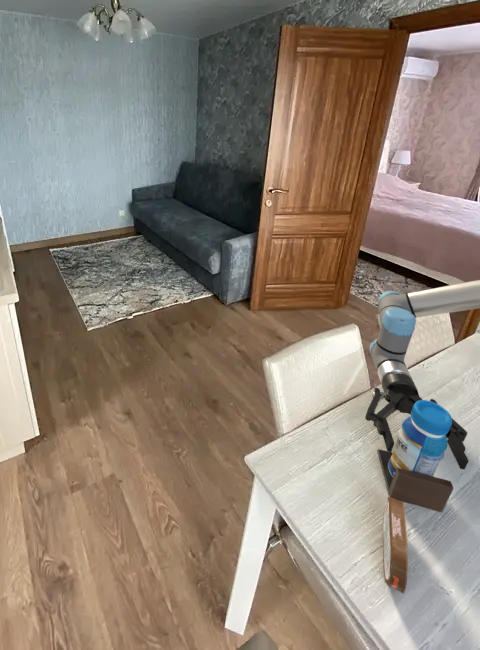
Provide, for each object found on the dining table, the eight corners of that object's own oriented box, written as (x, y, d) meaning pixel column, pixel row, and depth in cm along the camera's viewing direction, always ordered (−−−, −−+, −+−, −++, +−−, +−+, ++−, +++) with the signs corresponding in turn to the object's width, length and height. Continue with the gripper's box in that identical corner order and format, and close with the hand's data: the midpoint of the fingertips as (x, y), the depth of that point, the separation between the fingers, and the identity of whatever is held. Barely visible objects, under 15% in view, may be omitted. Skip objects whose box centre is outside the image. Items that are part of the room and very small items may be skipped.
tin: (400, 604, 60) (414, 577, 57) (380, 593, 61) (392, 566, 58) (396, 519, 72) (407, 493, 69) (379, 511, 73) (388, 485, 70)
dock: (377, 451, 86) (384, 428, 83) (422, 462, 84) (432, 439, 81) (389, 498, 76) (399, 474, 73) (442, 512, 73) (454, 488, 70)
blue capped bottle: (427, 503, 74) (457, 437, 66) (383, 477, 79) (406, 413, 71) (431, 473, 80) (459, 409, 73) (390, 451, 85) (412, 389, 77)
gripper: (447, 404, 90) (490, 484, 71) (343, 383, 96) (358, 452, 77) (456, 382, 87) (504, 459, 68) (349, 362, 93) (365, 428, 74)
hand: (426, 456), depth 72 cm, fingers open, 13 cm apart
